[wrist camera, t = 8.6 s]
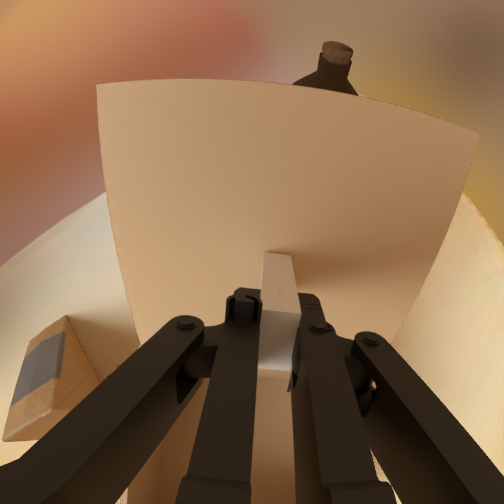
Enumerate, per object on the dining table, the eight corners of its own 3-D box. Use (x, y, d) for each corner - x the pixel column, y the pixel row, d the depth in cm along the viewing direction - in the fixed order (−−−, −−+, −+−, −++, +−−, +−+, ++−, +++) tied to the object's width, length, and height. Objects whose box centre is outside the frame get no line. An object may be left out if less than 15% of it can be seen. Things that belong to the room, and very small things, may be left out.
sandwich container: (67, 312, 38) (4, 270, 24) (118, 409, 33) (54, 409, 19) (28, 341, 35) (-41, 310, 22) (72, 436, 30) (1, 442, 17)
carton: (316, 522, 26) (347, 566, 15) (154, 506, 27) (119, 545, 15) (334, 379, 35) (375, 368, 24) (171, 362, 36) (139, 344, 24)
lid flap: (480, 133, 12) (474, 130, 12) (96, 84, 12) (102, 83, 13) (375, 367, 23) (374, 362, 24) (140, 343, 24) (142, 338, 24)
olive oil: (295, 231, 44) (336, 80, 22) (255, 181, 48) (265, 33, 26) (348, 202, 47) (407, 68, 25) (308, 158, 51) (339, 25, 29)
